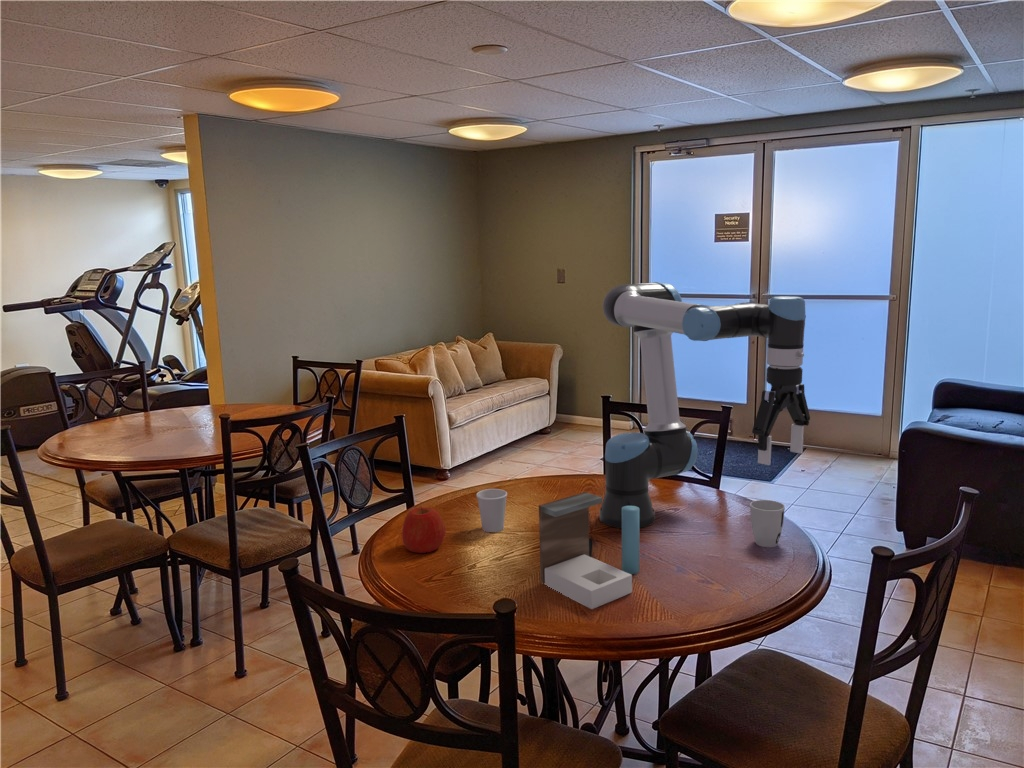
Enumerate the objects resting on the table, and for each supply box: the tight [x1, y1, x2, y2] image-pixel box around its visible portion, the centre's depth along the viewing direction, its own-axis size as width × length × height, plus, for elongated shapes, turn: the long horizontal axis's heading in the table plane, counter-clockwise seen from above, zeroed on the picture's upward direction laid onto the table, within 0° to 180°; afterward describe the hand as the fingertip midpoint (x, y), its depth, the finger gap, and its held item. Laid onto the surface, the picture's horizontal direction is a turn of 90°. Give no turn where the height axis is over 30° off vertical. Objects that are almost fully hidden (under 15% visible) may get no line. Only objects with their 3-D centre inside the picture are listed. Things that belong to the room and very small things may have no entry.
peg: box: [621, 506, 640, 575], centre depth 169 cm, size 4×4×15 cm
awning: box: [538, 491, 603, 585], centre depth 166 cm, size 6×14×18 cm, turn 128°
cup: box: [749, 499, 786, 548], centre depth 183 cm, size 8×8×10 cm
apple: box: [401, 506, 446, 554], centre depth 187 cm, size 11×11×11 cm
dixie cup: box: [475, 488, 508, 533], centre depth 199 cm, size 8×8×10 cm
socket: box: [544, 554, 633, 610], centre depth 161 cm, size 15×12×4 cm
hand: (780, 458), depth 169 cm, fingers open, 13 cm apart
